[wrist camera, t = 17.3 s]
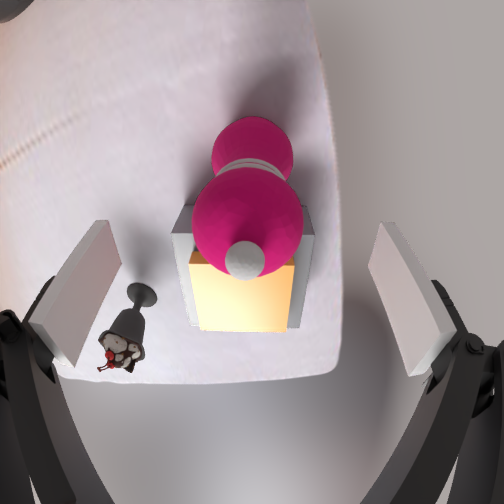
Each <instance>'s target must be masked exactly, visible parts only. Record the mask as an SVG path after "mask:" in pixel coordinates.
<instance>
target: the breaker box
mask: <svg viewBox="0 0 504 504" xmlns="http://www.w3.org/2000/svg"><path fill="white" fill-rule="evenodd" d="M301 207H302V211H303V220H304V228H303V233H302V238H301V241H300V244H299V246H298V248H297V250H296V252H295V253H294V254H293V258H294V265H295V266H294V275H293V283H292V291H291V299H290V307H289V314H288V321H287V328H299V327H300V322H301V316H302V311H303V305H304V300H305V294H306V288H307V282H308V276H309V270H310V263H311V257H312V250H313V243H314V237H315V234H314V231H313V227H312V224H311V220H310V217H309V213H308V210H307V207H306V206H301ZM193 208H194V205H184V206H183V209H182V211H181V213H180V215H179V217H178V219H177V221H176V223H175V225H174V227H173V230H172V232H171V237H172V243H173V248H174V254H175V259H176V264H177V269H178V274H179V279H180V283H181V288H182V293H183V297H184V302H185V306H186V311H187V315H188V319H189V323H190V325H192V326H200V324H199V319H198V314H197V309H196V304H195V298H194V293H193V288H192V282H191V276H190V271H189V265H188V263H189V260H190V257H191V254H192V251H199V250H198V248H197V246H196V243H195V241H194V237H193V232H192V213H193Z"/></svg>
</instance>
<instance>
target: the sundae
mask: <svg viewBox="0 0 504 504" xmlns="http://www.w3.org/2000/svg"><path fill="white" fill-rule="evenodd" d="M127 295H128V297H129V299H130V300H131V301H132V302H134V306H133V308H132V309H131V308H129V309H125V310H122V311H121V313H120V314H119V315H118V316H117V318H116V319H115V321H114V322H113V324H112V326H111V327H110V329H109V330H106V331H104V332H103V333H102V334H101V335H100V337H99V339H98V341H99V342H100V344H101V345H102V346H103V347H104V349H105V351H106V353H105V357H106V358H107V360H108V361H107V364H106V365H105V366H108V367H107V368H111V369H113V368H114V367H115V368H124V369H125V370H126V371H128V372H130V373H132V372H133V369H134V366H135V362H138V361H140V360H143V359H144V358H145V351H144V348H143V346H142V342H143V336H144V330H145V319H144V317H143V315H142V314H141V313H140V312H139V311H140V308H141V306H142V307H151V306H153V305H154V304H155V303H156V301H157V297H156V294H155V293H154V292H153V290H152V289H150V288H149V287H147V286H145V285H142V284H132V285H130V286H129V287H128V288H127ZM105 366H103V367H105ZM103 367H97V369H98V370H99V372H101V371H102V370H105V369H107V368H105V369H100V368H103Z"/></svg>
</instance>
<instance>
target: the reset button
mask: <svg viewBox="0 0 504 504" xmlns="http://www.w3.org/2000/svg"><path fill="white" fill-rule="evenodd" d="M188 265H189V271H190V276H191V282H192V288H193V293H194V298H195V304H196V309H197V314H198V319H199V324H200V329H201V330H211V331H237V332H286V328H287V321H288V314H289V307H290V299H291V291H292V283H293V275H294V266H295V265H294V258H293V256H292V257H291V258H290V260H289V261H287V262H286V263H285V264H284V265H283V266H282V267H281V268H279V269H278V270H276V271H274V272H272V273H269V274H267V275H264V276H261V277H256V278H254V279H252V280H248V281H243V280H238V279H236V278H234V277H233V276H231V275H229V274H226V273H224V272H222V271H220V270H218V269H216V268H215V267H214V266H212V265H211V264H210V263H209V262H208V261H207V260H206V259H205V258H204V257H203V256H202V254H201V253H200V251H192V254H191V257H190V260H189V263H188Z"/></svg>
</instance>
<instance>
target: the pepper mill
mask: <svg viewBox="0 0 504 504" xmlns="http://www.w3.org/2000/svg"><path fill="white" fill-rule="evenodd" d="M211 157H212V167H213V171H214V174H215V178H213V179H212V180H211V181H210V182H209V183H208V184H207V185H206V186H205V187H204V189H203V190H202V191H201V193H200V194H199V196H198V198H197V200H196V202H195V205H194V208H193V213H192V232H193V237H194V241H195V243H196V246H197V248H198V250H199V251H200V253H201V254H202V256H203V257H204V258H205V259H206V260H207V261H208V262H209V263H210V264H211V265H212V266H214V267H215V268H216V269H218V270H220V271H222V272H224V273H226V274H229V275H231V276H233V277H234V278H236V279H238V280H243V281H248V280H252V279H254V278H256V277H261V276H264V275H267V274H269V273H272V272H274V271H276V270H278V269H279V268H281V267H282V266H283V265H284V264H285V263H286V262H287V261H289V260H290V258H291V257H292V256H293V254H294V253H295V252H296V250H297V248H298V246H299V244H300V241H301V238H302V233H303V228H304V220H303V211H302V207H301V204H300V201H299V199H298V197H297V195H296V193H295V191H294V190H293V189H292V188H291V187H290V186H289V185H288V184H287V182H286V180H287V179H288V177H289V175H290V173H291V170H292V167H293V151H292V146H291V144H290V141H289V139H288V137H287V136H286V134H285V133H284V132H283V131H282V130H281V129H280V128H279V127H277V126H276V125H275V124H273V123H272V122H271V121H269V120H267V119H264V118H261V117H255V116H251V117H245V118H242V119H240V120H238V121H236V122H234V123H232V124H230V125H229V126H227V127H226V128H225V129H224V130H223V131H222V132H221V133H220V134H219V136H218V137H217V139H216V141H215V143H214V146H213V151H212V156H211Z"/></svg>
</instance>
